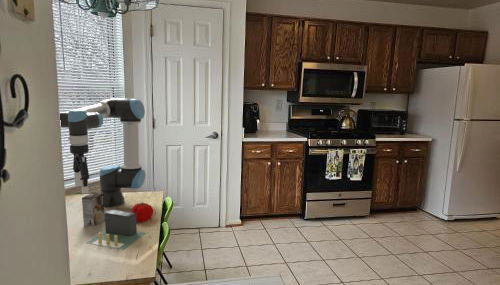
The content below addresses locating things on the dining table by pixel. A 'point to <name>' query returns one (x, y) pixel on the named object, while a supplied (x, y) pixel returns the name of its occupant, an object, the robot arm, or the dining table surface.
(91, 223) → the coffee box
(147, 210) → the tomato
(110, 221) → the housing
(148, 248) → the dining table surface
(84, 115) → the robot arm
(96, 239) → the board
